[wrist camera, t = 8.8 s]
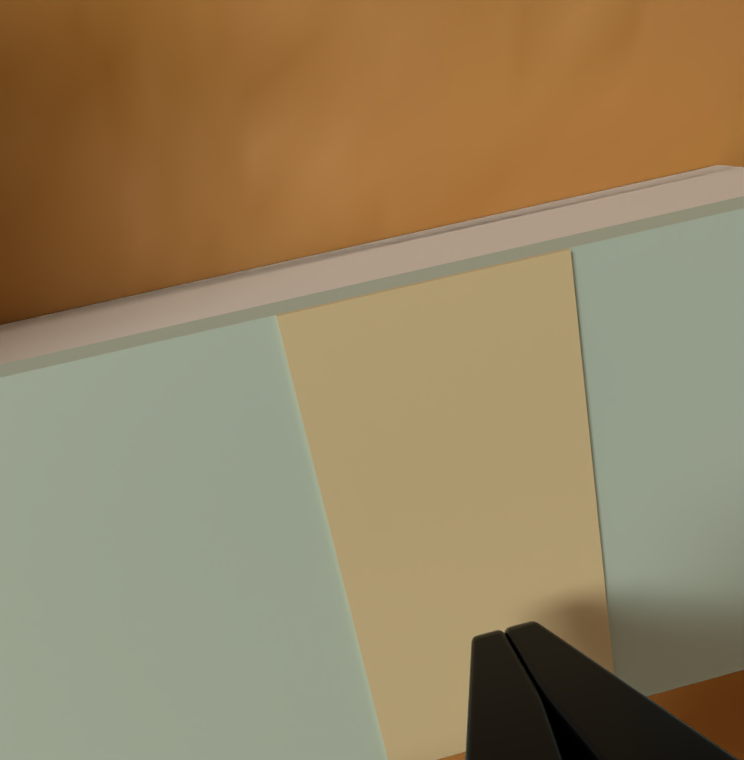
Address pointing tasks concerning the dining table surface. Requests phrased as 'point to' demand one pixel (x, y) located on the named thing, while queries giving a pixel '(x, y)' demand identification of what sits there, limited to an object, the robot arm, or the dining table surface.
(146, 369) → the lid
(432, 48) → the dining table surface
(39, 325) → the box
